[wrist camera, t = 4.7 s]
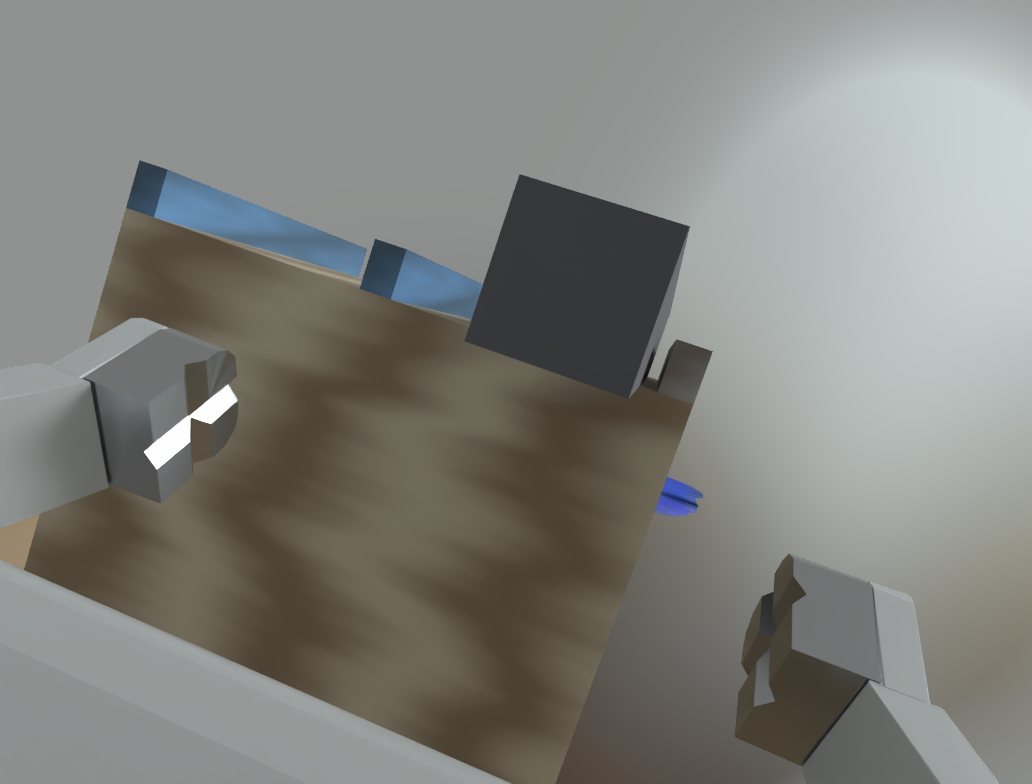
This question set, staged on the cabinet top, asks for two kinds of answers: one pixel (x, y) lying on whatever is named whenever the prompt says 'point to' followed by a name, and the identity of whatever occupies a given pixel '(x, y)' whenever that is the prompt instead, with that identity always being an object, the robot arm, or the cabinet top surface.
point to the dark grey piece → (579, 286)
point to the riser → (375, 486)
